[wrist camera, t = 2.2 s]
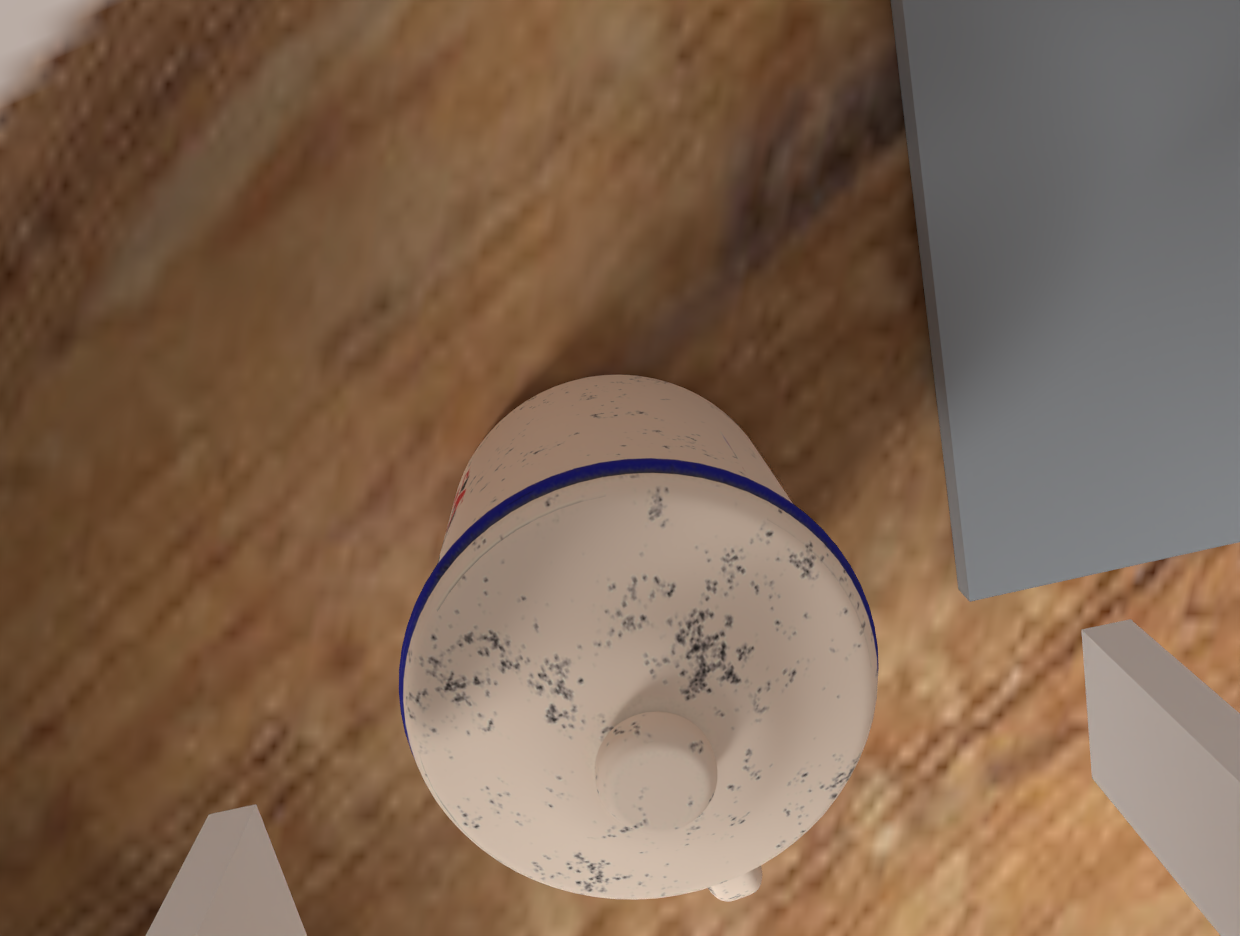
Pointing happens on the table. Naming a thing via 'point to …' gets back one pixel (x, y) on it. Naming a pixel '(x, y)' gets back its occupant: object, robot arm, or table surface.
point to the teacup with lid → (634, 649)
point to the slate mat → (1079, 276)
